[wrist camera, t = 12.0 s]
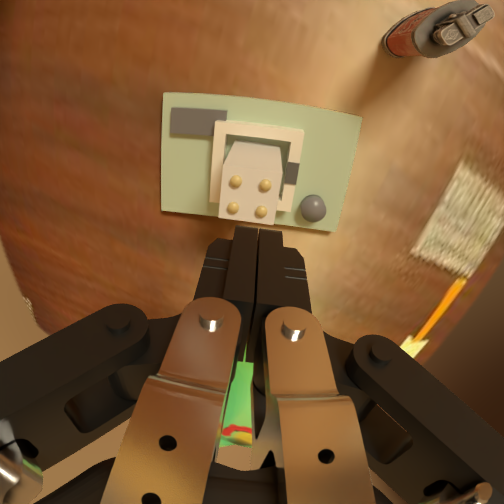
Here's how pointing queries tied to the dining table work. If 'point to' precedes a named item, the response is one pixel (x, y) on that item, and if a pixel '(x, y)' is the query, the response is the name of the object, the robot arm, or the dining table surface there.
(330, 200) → the board
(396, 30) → the lighter
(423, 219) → the dining table surface
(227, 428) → the toy bird
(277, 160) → the plug
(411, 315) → the dining table surface
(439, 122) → the dining table surface
